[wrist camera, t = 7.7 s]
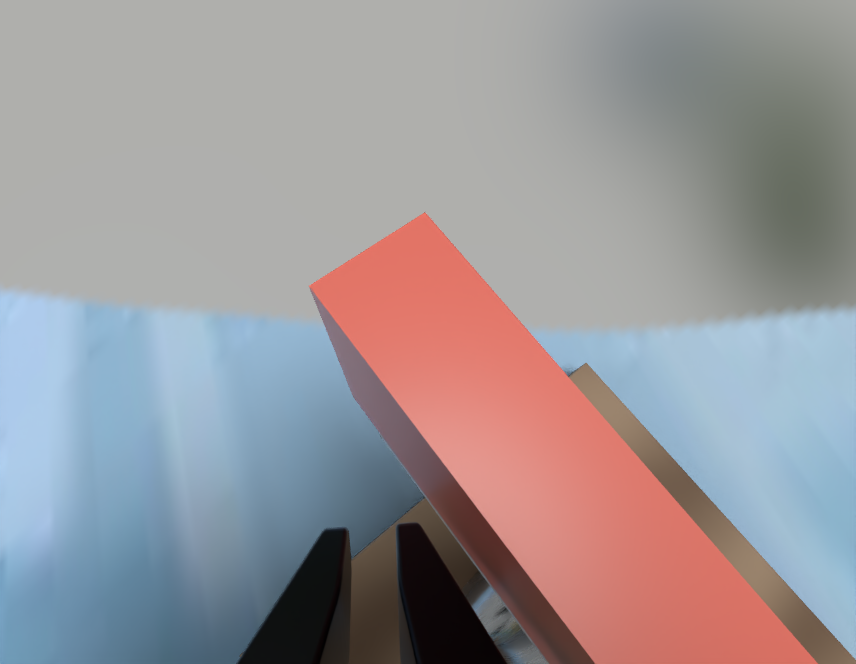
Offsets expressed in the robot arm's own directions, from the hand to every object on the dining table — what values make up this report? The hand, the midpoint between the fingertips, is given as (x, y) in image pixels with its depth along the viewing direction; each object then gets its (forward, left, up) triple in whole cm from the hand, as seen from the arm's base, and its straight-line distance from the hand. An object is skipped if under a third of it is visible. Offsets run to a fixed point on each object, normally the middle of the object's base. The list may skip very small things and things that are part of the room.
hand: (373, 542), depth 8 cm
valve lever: (+1, -5, -2) cm, 6 cm away
